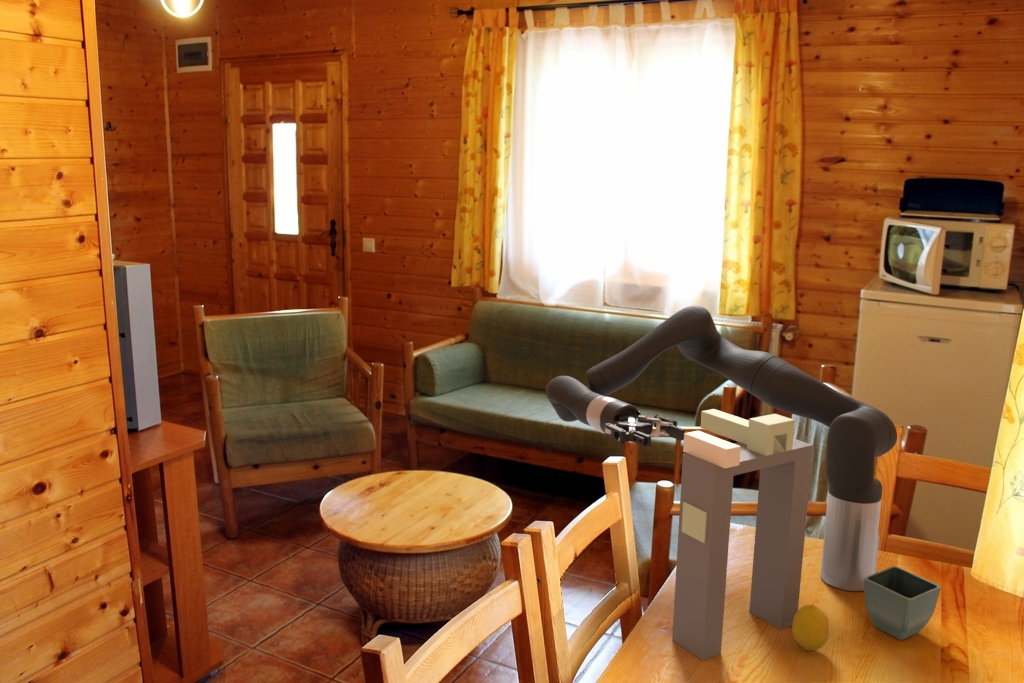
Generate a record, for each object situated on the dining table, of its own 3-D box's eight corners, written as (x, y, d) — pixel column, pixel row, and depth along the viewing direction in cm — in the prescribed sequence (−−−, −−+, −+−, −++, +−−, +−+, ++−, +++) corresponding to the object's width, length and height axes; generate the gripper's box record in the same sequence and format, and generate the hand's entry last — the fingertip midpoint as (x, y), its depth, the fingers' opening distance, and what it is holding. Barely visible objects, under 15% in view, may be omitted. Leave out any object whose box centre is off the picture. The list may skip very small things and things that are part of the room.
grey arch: (765, 605, 149) (779, 433, 143) (796, 623, 144) (812, 444, 137) (670, 640, 138) (681, 454, 132) (701, 661, 132) (713, 468, 126)
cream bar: (697, 448, 135) (698, 430, 134) (739, 465, 127) (740, 446, 127) (683, 451, 133) (684, 433, 133) (725, 468, 126) (726, 449, 125)
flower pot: (904, 650, 136) (910, 599, 134) (857, 625, 143) (862, 577, 142) (936, 635, 141) (942, 586, 139) (888, 612, 148) (894, 565, 146)
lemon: (829, 662, 132) (833, 615, 131) (792, 657, 134) (796, 611, 132) (823, 643, 138) (828, 598, 136) (788, 639, 139) (792, 594, 137)
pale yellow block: (719, 424, 148) (721, 396, 147) (792, 449, 135) (794, 419, 134) (694, 429, 145) (695, 401, 144) (766, 455, 132) (768, 425, 131)
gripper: (638, 429, 177) (693, 451, 163) (584, 440, 169) (636, 464, 156) (640, 395, 175) (695, 414, 162) (585, 404, 168) (638, 425, 154)
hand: (666, 438), depth 159 cm, fingers open, 8 cm apart
